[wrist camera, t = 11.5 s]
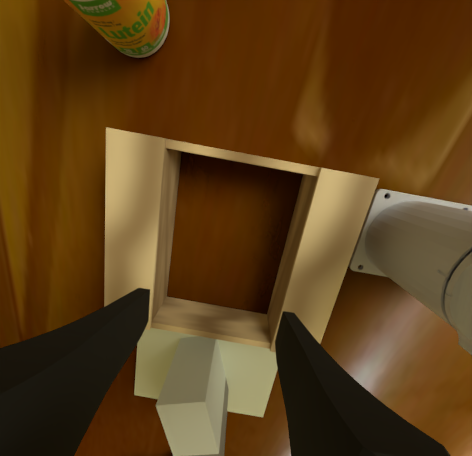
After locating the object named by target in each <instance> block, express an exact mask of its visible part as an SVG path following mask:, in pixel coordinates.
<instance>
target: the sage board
mask: <svg viewBox="0 0 472 456" xmlns="http://www.w3.org/2000/svg"><path fill="white" fill-rule="evenodd" d="M185 337H195V335H189V334H184V333H178V332H173V331H167V330H161V329H156V328H150V330H146V329H145V330H144V332H143V334H142V336H141V338H140V340H139V341H138V343H137V358H136V374H135V389H134V395H137V396H142V397H148V398H154V399H158V398H159V395H160V393H161V390H162V387H163V384H164V382H165V379H166V376H167V374H168V371H169V368H170V366H171V363H172V360H173V358H174V355H175V352H176V349H177V347H178V344H179V341H180V339H181V338H185ZM218 344H219V348H220V353H221V357H222V362H223V366H224V371H225V375H226V380H227V384H228V389H229V392H228V406H227V411H229V412H235V413H241V414H246V415H252V416H258V417H263V415H264V412H265V409H266V406H267V402H268V399H269V396H270V392H271V389H272V386H273V382H274V379H275V376H276V372H277V369H278V367H277V362H276V352H271V351H270V349H269V348H263V347H257V346H252V345H246V344H240V343H235V342H229V341H223V340H218Z"/></svg>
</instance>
